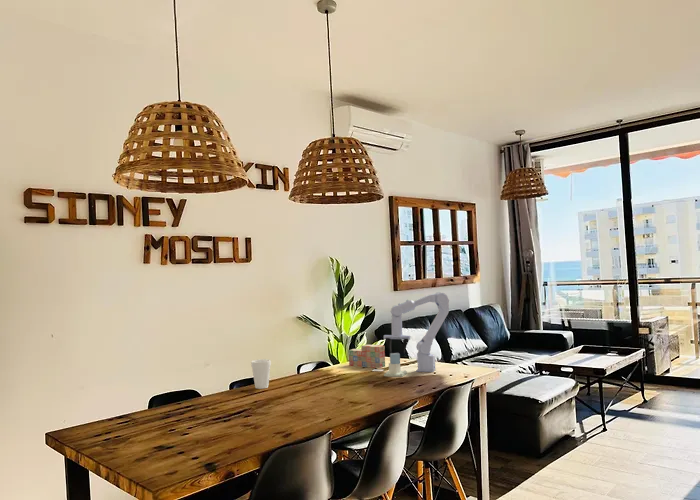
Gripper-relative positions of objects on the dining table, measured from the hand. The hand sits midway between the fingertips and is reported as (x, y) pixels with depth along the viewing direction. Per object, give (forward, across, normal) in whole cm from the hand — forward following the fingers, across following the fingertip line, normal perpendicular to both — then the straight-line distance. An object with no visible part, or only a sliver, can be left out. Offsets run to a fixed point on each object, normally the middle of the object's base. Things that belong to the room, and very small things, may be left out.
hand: (397, 352), depth 290 cm
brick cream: (+10, 0, -8) cm, 12 cm away
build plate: (+10, +1, -8) cm, 13 cm away
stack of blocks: (+11, -22, +15) cm, 29 cm away
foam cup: (+13, -57, -48) cm, 75 cm away
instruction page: (+11, -12, +2) cm, 16 cm away
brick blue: (+4, +1, -8) cm, 9 cm away
